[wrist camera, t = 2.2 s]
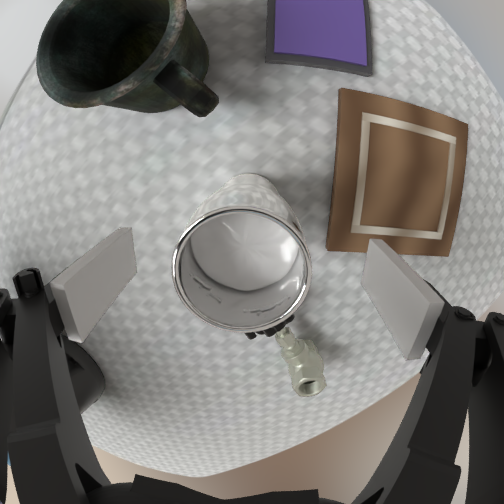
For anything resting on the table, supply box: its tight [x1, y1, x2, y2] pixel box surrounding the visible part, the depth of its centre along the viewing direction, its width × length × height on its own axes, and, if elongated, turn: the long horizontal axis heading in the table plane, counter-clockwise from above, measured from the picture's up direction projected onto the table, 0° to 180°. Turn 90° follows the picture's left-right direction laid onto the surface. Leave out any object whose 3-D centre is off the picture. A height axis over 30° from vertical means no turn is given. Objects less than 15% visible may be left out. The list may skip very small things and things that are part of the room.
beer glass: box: [171, 174, 312, 333], centre depth 20 cm, size 7×7×15 cm
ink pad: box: [265, 0, 372, 77], centre depth 19 cm, size 10×10×2 cm
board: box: [326, 88, 468, 257], centre depth 25 cm, size 16×16×1 cm
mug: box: [36, 0, 219, 117], centre depth 16 cm, size 11×15×12 cm
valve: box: [245, 314, 326, 397], centre depth 29 cm, size 7×7×12 cm
